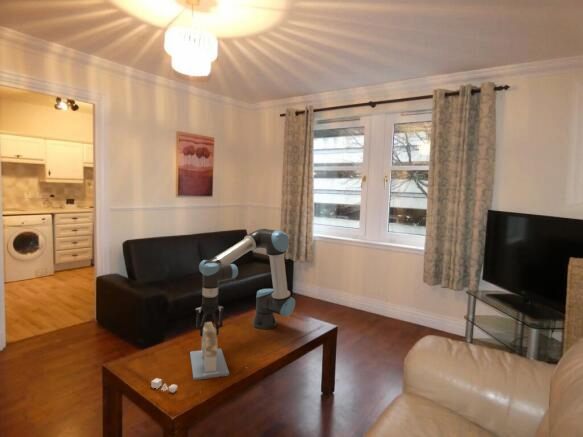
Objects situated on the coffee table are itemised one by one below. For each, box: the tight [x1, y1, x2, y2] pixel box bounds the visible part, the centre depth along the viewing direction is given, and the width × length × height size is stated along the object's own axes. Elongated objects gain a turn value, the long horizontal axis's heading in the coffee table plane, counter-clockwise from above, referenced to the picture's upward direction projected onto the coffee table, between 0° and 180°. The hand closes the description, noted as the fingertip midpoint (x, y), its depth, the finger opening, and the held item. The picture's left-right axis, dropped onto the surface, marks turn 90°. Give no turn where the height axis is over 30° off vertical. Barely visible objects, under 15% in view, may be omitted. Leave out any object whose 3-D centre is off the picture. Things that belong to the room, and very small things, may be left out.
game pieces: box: [150, 377, 178, 394], centre depth 148 cm, size 12×3×3 cm, turn 69°
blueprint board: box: [189, 343, 230, 381], centre depth 171 cm, size 16×26×8 cm, turn 20°
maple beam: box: [203, 321, 219, 355], centre depth 170 cm, size 5×22×7 cm, turn 20°
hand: (209, 341), depth 170 cm, fingers closed on maple beam, 5 cm apart
